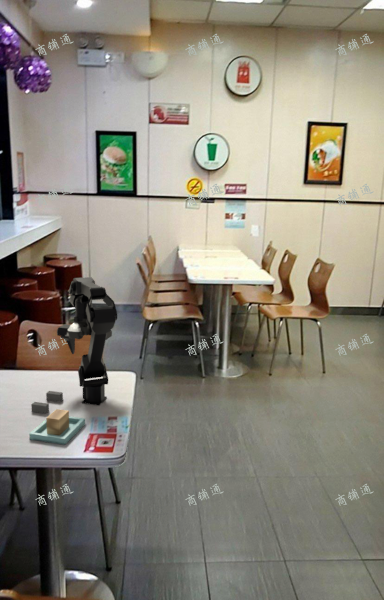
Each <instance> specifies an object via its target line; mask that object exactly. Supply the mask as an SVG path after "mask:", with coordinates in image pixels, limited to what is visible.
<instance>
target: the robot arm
mask: <svg viewBox="0 0 384 600" xmlns="http://www.w3.org/2000/svg"><path fill="white" fill-rule="evenodd" d="M68 294H69V295H70V296H69V302H70V304H71V305H72V306H73V307H74V308H75V316H74V317H73V322H72V324H66V323H65V324H63V325H60V326H59V327H57V329H56V335H57V336H60V338H61V339H63V340H65V342H66V344H67V345H68V348H69V350H70V353H71V355H74V354H75V351H76V339H77V340H81V339H83V338H84V336H90V341H89V345H88V352H87V353H85V354H83V355H82V356H81V360H80V365H79V367H78V370H77V372H78V380H79V387H82V401H81V403H82V404H86V405H93V406H101V404H103V402H104V401H106V400H107V397H108V396H105V395H106V393H105V391H106V389H105V386H106V385H109V376H108V372H107V367H106V364H105V362H104V359H103V354H104V349H105V345H106V341H107V340H108V339H109V338H111V337H112V336H113V331H112V329H113V328H114V327H115V324H116V321H117V320H118V312H117V307H116V304H115V300H113V299H112V298H111V297H110V296H109V294H107V291H106V287H103V286H100V285H98V284H96V280H95V279H94V278H92V277H91V276H90V277H87V276H86V277H74V278H73V279H72V281H71V283H70V286H69V290H68ZM98 300H100V301H101V300H102V301H103V302H104V304H105V306H103V305H101V306H93V301H98Z"/></svg>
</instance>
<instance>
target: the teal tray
mask: <svg viewBox="0 0 384 600" xmlns="http://www.w3.org/2000/svg"><path fill="white" fill-rule="evenodd" d="M85 425H86V418H83V417H78V416H71V415H69V427H68V428H67V429H66V430H65V431H64V432H63V433H62V434H61V435H60V436H59V435H52V434H47V423H46V419H44V421H43V422H41V423H40V424H39V425H37V427H35V428H34V429H32V431H30V432H29V440H32V441H38V442H45V443H51V444H55V445H56V444H57V445H64V446H66V444H67V443H68V442H69V441H70V440H71V439H72V438H73V437H75V435H76V434H77V433H78V432H79V431H80V430H81V429H82V428H83V427H84V426H85Z"/></svg>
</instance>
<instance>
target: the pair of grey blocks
mask: <svg viewBox="0 0 384 600" xmlns="http://www.w3.org/2000/svg"><path fill="white" fill-rule="evenodd" d="M63 393H64V392H61V391H54V390H48V391H47V392H46V393H45V397H46V399H45V400H46V401H52V402H59V403H60V402H62V401H63V400H64V397H63V396H64V395H63ZM30 405H31V406H30V407H31V412H32V413H39V414H47V413H48V412H49V411H50V404H49V403H47V402H40V401H39V402H38V401H33V402H32V404H30Z"/></svg>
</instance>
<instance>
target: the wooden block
mask: <svg viewBox="0 0 384 600" xmlns="http://www.w3.org/2000/svg"><path fill="white" fill-rule="evenodd" d="M69 416H70V410H66V409H58V408H56V409H55V410H53V412H51V413H50V414H49V415H48V416H46V418H45V420H46V423H47V434H52V435H59V436H60V435H61V434H62V433H63V432H64V431H65V430H66V429H67V428H68V427H69Z"/></svg>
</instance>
